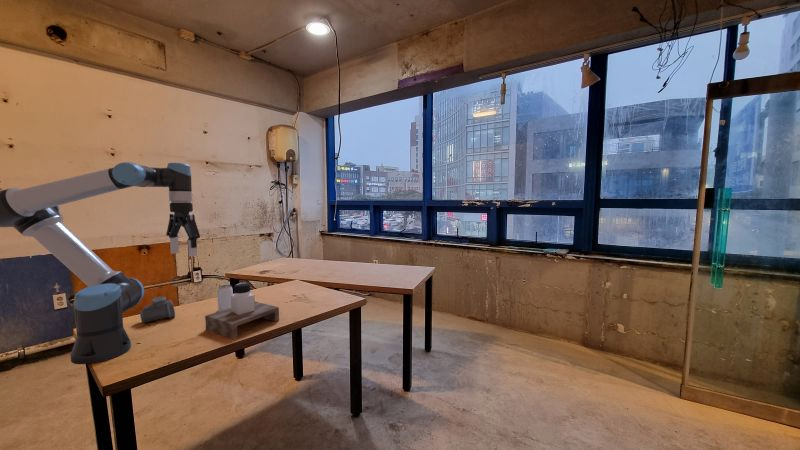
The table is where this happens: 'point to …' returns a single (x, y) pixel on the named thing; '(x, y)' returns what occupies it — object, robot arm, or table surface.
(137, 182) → the robot arm
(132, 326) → the table surface
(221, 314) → the shelf stand
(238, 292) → the medicine bottle
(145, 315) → the pipe fitting
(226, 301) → the can
